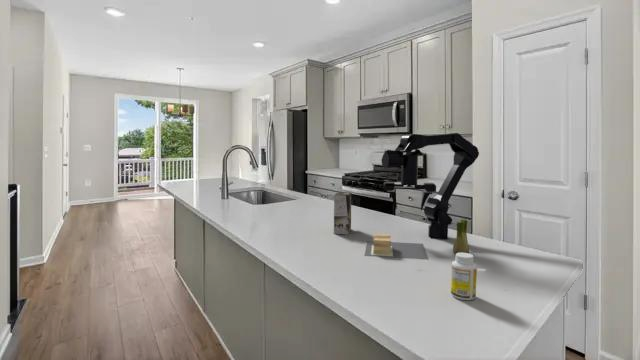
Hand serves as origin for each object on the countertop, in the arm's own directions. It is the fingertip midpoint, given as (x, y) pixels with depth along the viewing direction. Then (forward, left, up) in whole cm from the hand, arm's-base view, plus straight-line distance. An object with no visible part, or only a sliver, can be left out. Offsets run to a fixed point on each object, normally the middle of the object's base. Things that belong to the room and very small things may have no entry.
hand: (408, 209), depth 132 cm
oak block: (+9, +16, -11) cm, 22 cm away
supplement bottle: (-10, +48, -12) cm, 51 cm away
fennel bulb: (-16, +15, -12) cm, 25 cm away
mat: (+5, +14, -12) cm, 19 cm away
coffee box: (+26, -10, -12) cm, 30 cm away
